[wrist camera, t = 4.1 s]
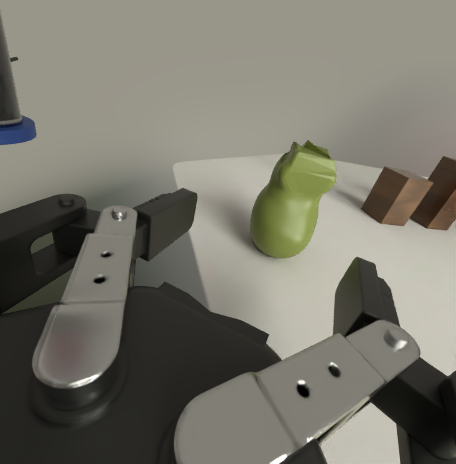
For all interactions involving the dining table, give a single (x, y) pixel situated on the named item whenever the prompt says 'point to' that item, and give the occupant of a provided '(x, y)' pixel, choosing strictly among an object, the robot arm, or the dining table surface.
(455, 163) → the block far
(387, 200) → the block near
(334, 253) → the dining table surface
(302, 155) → the olive green lumpy piece
